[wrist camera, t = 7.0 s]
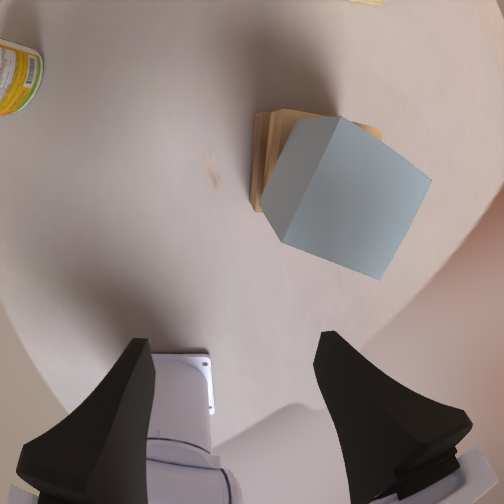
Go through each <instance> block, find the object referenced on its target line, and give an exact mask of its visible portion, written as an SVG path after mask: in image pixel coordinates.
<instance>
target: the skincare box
mask: <svg viewBox="0 0 504 504" xmlns="http://www.w3.org/2000/svg"><path fill="white" fill-rule="evenodd" d="M349 1H353V2H358V3H362V4H367V5H371V6H377V5H379V4H380V3H382V2H384V1H386V0H349Z"/></svg>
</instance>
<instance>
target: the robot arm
mask: <svg viewBox="0 0 504 504" xmlns="http://www.w3.org/2000/svg"><path fill="white" fill-rule="evenodd" d="M203 362H207V363H203ZM313 367H314V371H315V375H316V379H317V382H318V385H319V388H320V391H321V393H322V396H323V398H324V400H325V403H326V405H327V408H328V410H329V413H330V415H331V417H332V420H333V422H334V425H335V428H336V430H337V434H338V438H339V441H340V445H341V449H342V453H343V458H344V462H345V467H346V473H347V478H348V484H349V492H350V500H351V504H472V503H473V502H475V501H476V500H477V499H478V498H480V497H481V496H482V495H483V494H485V493H486V492H487V491H488V490H489V489H490V488H492V487H493V486H494V485H495V484H496V483H497V482H498V479H497V477H496V475H495V473H494V471H493V469H492V468H491V466H490V464H489V462H488V460H487V459H486V457H485V455H484V454H483V452H482V450H481V449H480V447H479V445H476V446H475V447H473V448H472V449H470V450H469V451H467V452H466V453H464V454H463V455H461V456H460V457H459V458H457V459H456V457H455V454H456V453H457V449H456V448H455V446H456V445H457V444H458V443H459V442H460V441H461V440H462V439H463V438H464V437H465V436H466V435H467V434H468V433H469V432H470V430H471V429H472V426H473V423H472V422H471V420H470V419H469V417H468V416H467V414H466V413H465V411H464V410H461V409H458V408H454V407H451V406H447V405H444V404H441V403H438V402H436V401H433V400H431V399H429V398H426V397H424V396H422V395H420V394H418V393H416V392H414V391H412V390H410V389H408V388H407V387H405V386H403V385H401V384H400V383H398V382H397V381H395V380H394V379H392V378H391V377H389V376H387V375H386V374H385V373H383V372H382V371H381V370H380V369H378V368H377V367H375V366H374V365H373V364H372V363H371V362H369V361H368V360H367V359H366V358H365V357H364V356H362V355H361V354H360V353H359V352H358V351H357V350H356V349H354V348H353V347H352V346H351V345H350V344H349V343H348V342H347V341H346V340H345V339H343V338H342V337H341V336H340V335H339V334H338V333H337V332H336V331H326V332H321V336H320V340H319V344H318V348H317V351H316V355H315V359H314V363H313ZM214 413H215V409H214V398H213V386H212V373H211V360H210V356H209V355H208V354H151V351H150V347H149V343H148V339H145V338H133V339H132V340H131V342H130V343H129V344H128V346H127V347H126V349H125V350H124V352H123V353H122V355H121V356H120V357H119V359H118V360H117V362H116V363H115V364H114V366H113V367H112V368H111V370H110V371H109V372H108V374H107V375H106V376H105V378H104V379H103V380H102V381H101V382H100V384H99V385H98V386H97V387H96V388H95V390H94V391H93V392H92V393H91V394H90V395H89V396H88V397H87V398H86V399H85V400H84V401H83V402H82V403H81V404H80V405H79V406H78V407H77V408H76V409H75V410H74V411H73V412H72V413H71V414H70V415H68V416H67V417H66V418H65V419H64V420H62V421H61V422H60V423H58V424H57V425H56V426H54V427H53V428H51V429H50V430H49V431H47V432H46V433H44V434H42V435H41V436H39V437H37V438H35V439H34V440H32V441H30V442H28V443H26V444H24V445H23V448H22V451H21V454H20V458H19V461H18V465H17V469H16V473H17V475H18V476H19V477H20V478H21V479H23V480H24V481H25V482H27V483H28V484H30V485H31V486H32V487H34V488H35V489H37V490H38V491H40V494H39V497H38V496H36V495H34V494H32V493H30V492H28V491H25V490H23V489H21V488H19V487H17V486H14V485H10V487H9V492H8V497H7V502H6V504H243V499H242V491H241V487H240V484H239V482H238V480H237V478H236V477H235V476H234V474H233V473H232V472H231V470H230V469H228V468H226V467H221V463H220V456H216V455H212V443H211V428H210V415H211V414H214Z"/></svg>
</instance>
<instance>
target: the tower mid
mask: <svg viewBox="0 0 504 504" xmlns="http://www.w3.org/2000/svg"><path fill="white" fill-rule="evenodd" d="M318 117H329V116H324V115H319V114H313V113H308V112H302V111H296V110H290V109H284V108H283V109H280V110H277V111H274V112H271V114H270V123H269V132H268V141H267V151H266V160H265V169H264V178H263V187H262V193H263V191H264V188H265V186H266V184H267V182H268V180H269V178H270V175H271V173H272V171H273V169H274V167H275V164H276V162H277V160H278V158H279V156H280V154H281V151H282V149H283V147H284V145H285V143H286V141H287V138H288V136H289V134H290V132H291V130H292V128H293V126H294V123H295V121H296V119H306V118H318ZM350 122H351V121H350ZM352 123H354V124H355V125H357V126H358V127H360V128H362V129H363V130H365V131H366V132H368V133H369V134H371V135H372V136H374V137H375V138H377V139H378V140H380V141H381V139H382V131H383V130H382V129H378V128H375V127H371V126H367V125H363V124H359V123H355V122H352Z"/></svg>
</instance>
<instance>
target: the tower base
mask: <svg viewBox="0 0 504 504" xmlns="http://www.w3.org/2000/svg"><path fill="white" fill-rule="evenodd" d="M270 114H271V112H267V111H261V112H258V113H256V114H255V120H254V135H253V151H252V166H251V182H250V198H249V202H250V203H251V205H252V207H253V209H254V211H255V212H263V211H262V210H261V208H260V206H259V205H258V202H259V199H260V197H261V195H262V187H263V178H264V169H265V160H266V151H267V141H268V132H269V123H270Z"/></svg>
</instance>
